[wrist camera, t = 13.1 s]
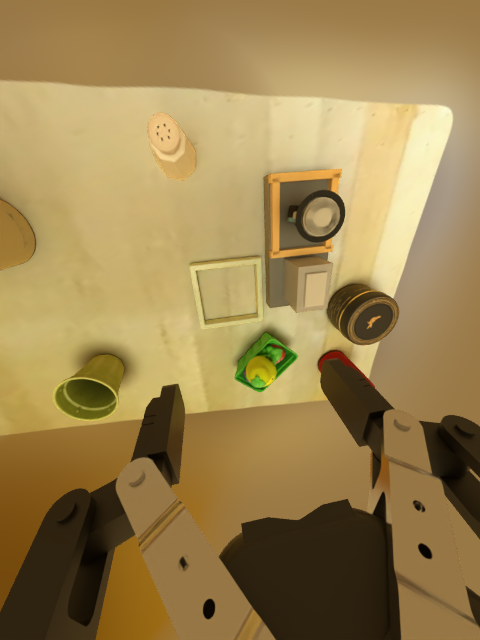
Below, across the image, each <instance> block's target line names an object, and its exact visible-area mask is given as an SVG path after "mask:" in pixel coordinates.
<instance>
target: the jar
mask: <svg viewBox="0 0 480 640" xmlns="http://www.w3.org/2000/svg"><path fill="white" fill-rule="evenodd" d="M328 316H329V319H330V321H331V323H332V324H333V326H334V327H335V328H336V329H338V330H339V331H340V332H341V333H342V335H343V336H344V337H346V338H347V339H348V340H350V341H351V342H353V343H355V344H357V345H369V344H373V343H376V342H378V341H380V340H381V339H383V338H384V337H385V336H387V335H388V334H389V333H390V332H391V330H392V329H393V328H394V326H395V324H396V322H397V320H398V316H399V307H398V305H397V303H396V301H395V300H394V299H393V298H391V297H390V296H388V295H386V294H385V293H383V292H380V291H377V290H374V289H372V288H370V287H368V286H365V285H350V286H347V287H344V288H343V289H341V290H340V291H338V292H337V293H336V294H335V295H334V296H333V298H332V299H331V301H330V303H329V306H328Z"/></svg>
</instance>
